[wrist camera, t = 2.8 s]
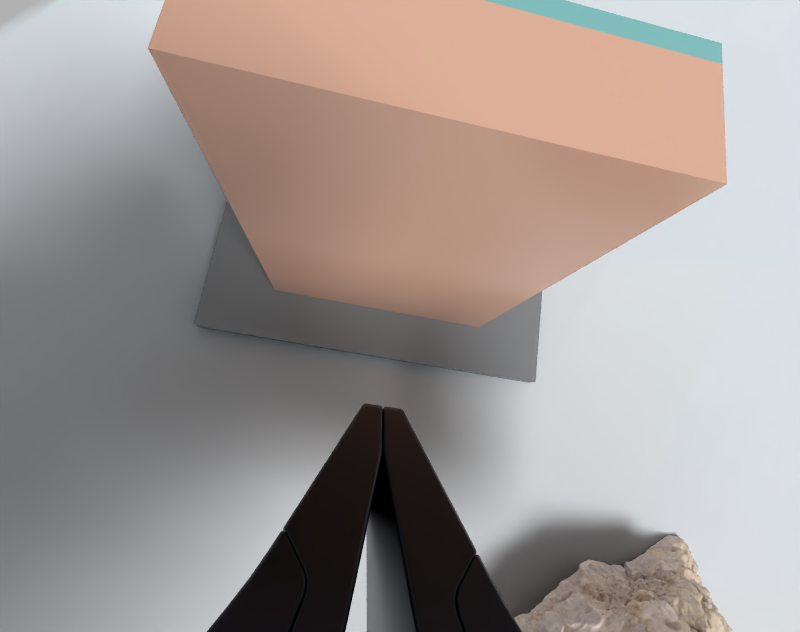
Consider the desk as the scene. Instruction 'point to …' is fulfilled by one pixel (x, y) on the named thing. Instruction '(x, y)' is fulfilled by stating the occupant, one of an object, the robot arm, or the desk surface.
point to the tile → (442, 140)
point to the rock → (631, 597)
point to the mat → (358, 319)
